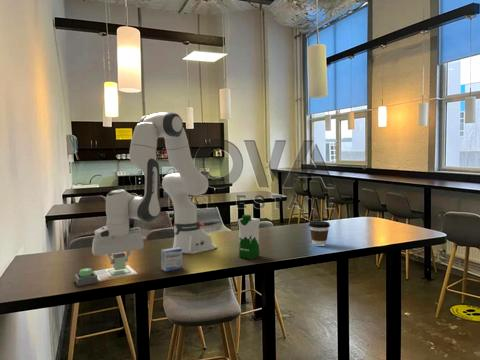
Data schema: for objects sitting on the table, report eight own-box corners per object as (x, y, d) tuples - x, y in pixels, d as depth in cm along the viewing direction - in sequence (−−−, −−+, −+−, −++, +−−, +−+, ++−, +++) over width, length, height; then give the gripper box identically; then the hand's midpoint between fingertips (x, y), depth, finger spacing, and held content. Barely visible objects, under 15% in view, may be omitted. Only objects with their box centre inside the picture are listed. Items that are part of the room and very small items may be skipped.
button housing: (93, 277, 148) (93, 271, 148) (97, 282, 142) (97, 275, 142) (74, 280, 144) (74, 274, 144) (78, 286, 138) (77, 279, 138)
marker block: (123, 266, 156) (122, 252, 155) (125, 268, 152) (125, 254, 152) (113, 267, 154) (112, 253, 153) (115, 270, 150) (115, 255, 150)
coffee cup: (304, 245, 194) (304, 222, 193) (317, 241, 202) (317, 220, 201) (321, 249, 186) (321, 225, 185) (334, 245, 193) (334, 222, 193)
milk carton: (236, 257, 173) (235, 215, 171) (246, 253, 180) (246, 212, 179) (252, 260, 168) (251, 217, 166) (262, 256, 175) (262, 214, 174)
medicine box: (165, 272, 153) (165, 251, 153) (161, 269, 157) (160, 249, 156) (182, 268, 158) (182, 248, 157) (178, 265, 162) (177, 246, 161)
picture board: (128, 266, 161) (128, 264, 161) (137, 274, 151) (137, 272, 150) (91, 272, 153) (91, 271, 153) (98, 281, 142) (98, 280, 142)
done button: (90, 275, 146) (90, 267, 146) (93, 278, 142) (92, 270, 142) (78, 277, 143) (78, 269, 143) (80, 280, 140) (80, 272, 140)
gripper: (140, 225, 160) (141, 256, 161) (90, 231, 149) (91, 265, 150) (145, 227, 155) (146, 260, 156) (93, 234, 144) (95, 269, 145)
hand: (119, 262), depth 153 cm, fingers closed on marker block, 4 cm apart
